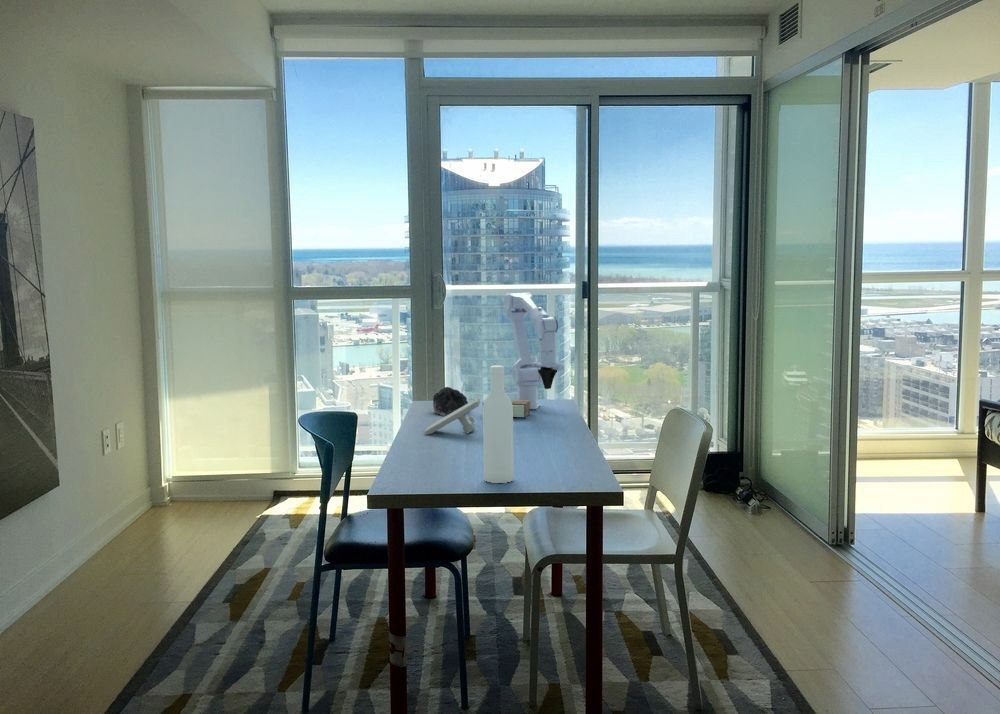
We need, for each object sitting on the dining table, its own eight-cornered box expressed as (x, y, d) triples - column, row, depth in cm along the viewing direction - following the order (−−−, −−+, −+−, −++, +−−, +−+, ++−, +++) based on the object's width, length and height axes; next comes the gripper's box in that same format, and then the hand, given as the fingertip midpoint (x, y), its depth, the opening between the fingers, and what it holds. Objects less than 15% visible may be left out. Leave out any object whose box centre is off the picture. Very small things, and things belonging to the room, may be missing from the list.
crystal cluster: (467, 417, 298) (469, 390, 297) (430, 415, 298) (432, 387, 297) (468, 413, 311) (470, 387, 310) (433, 410, 311) (435, 384, 310)
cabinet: (487, 412, 302) (486, 399, 301) (529, 414, 298) (529, 400, 298) (482, 416, 295) (482, 402, 294) (526, 417, 292) (526, 403, 291)
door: (484, 415, 295) (484, 404, 294) (526, 417, 291) (526, 405, 291) (483, 416, 293) (483, 405, 292) (525, 418, 289) (525, 406, 289)
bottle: (520, 480, 212) (518, 366, 209) (495, 486, 208) (493, 369, 204) (502, 474, 219) (500, 363, 215) (477, 479, 214) (475, 366, 211)
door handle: (437, 452, 269) (489, 422, 266) (424, 431, 268) (476, 401, 265) (443, 438, 286) (492, 410, 283) (431, 419, 285) (480, 390, 282)
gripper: (525, 350, 295) (525, 387, 296) (554, 353, 284) (554, 392, 286) (539, 348, 299) (539, 385, 301) (568, 351, 288) (568, 389, 290)
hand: (547, 388), depth 294 cm, fingers closed
